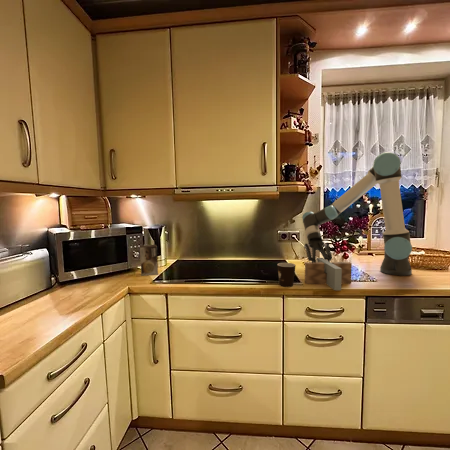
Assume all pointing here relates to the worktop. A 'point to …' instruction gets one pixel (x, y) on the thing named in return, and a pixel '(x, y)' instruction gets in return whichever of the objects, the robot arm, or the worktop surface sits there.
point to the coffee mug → (286, 274)
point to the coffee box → (148, 260)
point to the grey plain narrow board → (332, 274)
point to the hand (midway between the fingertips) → (323, 271)
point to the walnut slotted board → (317, 275)
